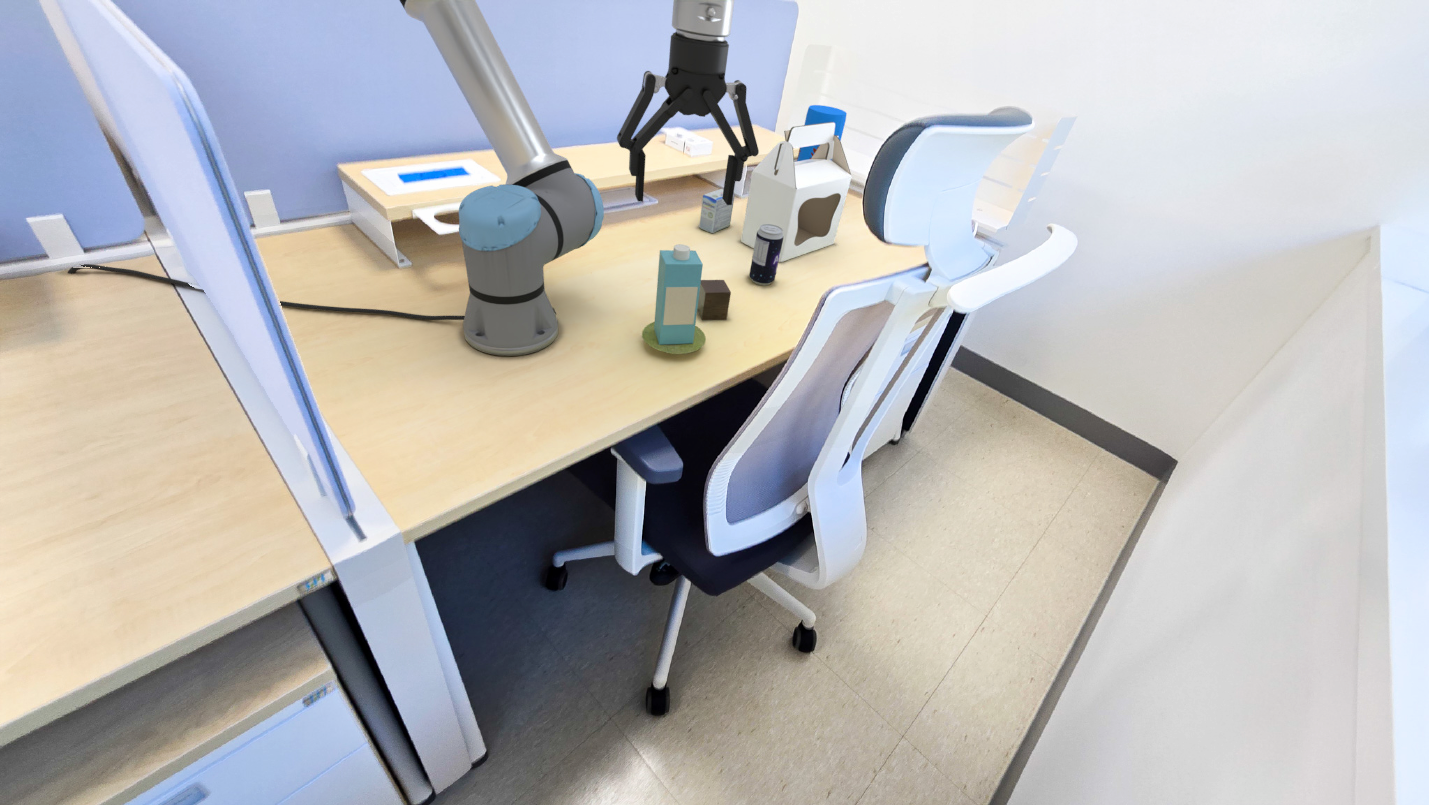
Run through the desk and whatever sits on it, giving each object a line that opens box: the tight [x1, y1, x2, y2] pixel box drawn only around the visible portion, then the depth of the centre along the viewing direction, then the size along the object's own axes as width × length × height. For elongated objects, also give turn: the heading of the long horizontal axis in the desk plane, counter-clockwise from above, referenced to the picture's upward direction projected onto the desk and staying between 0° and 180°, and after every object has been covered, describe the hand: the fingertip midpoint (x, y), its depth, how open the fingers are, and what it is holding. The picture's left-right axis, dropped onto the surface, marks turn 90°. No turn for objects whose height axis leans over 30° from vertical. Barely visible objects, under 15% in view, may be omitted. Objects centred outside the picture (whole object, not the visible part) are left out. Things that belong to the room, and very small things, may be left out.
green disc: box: [641, 320, 707, 355], centre depth 102 cm, size 11×11×2 cm
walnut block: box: [697, 279, 732, 321], centre depth 111 cm, size 5×5×6 cm
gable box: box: [740, 122, 853, 263], centre depth 137 cm, size 22×13×28 cm, turn 135°
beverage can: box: [748, 224, 784, 286], centre depth 123 cm, size 6×6×12 cm
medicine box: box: [698, 188, 736, 234], centre depth 145 cm, size 8×4×9 cm, turn 144°
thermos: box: [796, 104, 847, 162], centre depth 165 cm, size 11×11×25 cm
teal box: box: [654, 243, 704, 345], centre depth 96 cm, size 6×14×14 cm
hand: (683, 200), depth 87 cm, fingers open, 13 cm apart
